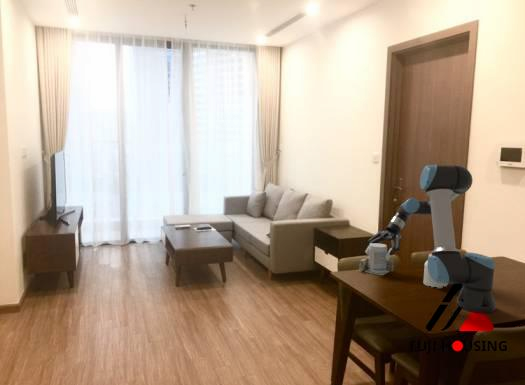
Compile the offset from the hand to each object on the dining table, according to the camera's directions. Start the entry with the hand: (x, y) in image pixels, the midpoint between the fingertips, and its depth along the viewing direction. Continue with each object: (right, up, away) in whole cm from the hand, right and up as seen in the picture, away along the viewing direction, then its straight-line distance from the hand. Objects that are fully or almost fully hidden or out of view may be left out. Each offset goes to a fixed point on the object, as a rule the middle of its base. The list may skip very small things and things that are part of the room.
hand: (376, 256), depth 232 cm
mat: (+1, -9, +2) cm, 9 cm away
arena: (+1, -9, +2) cm, 9 cm away
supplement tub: (+1, -9, +2) cm, 9 cm away
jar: (+25, -12, -17) cm, 33 cm away
